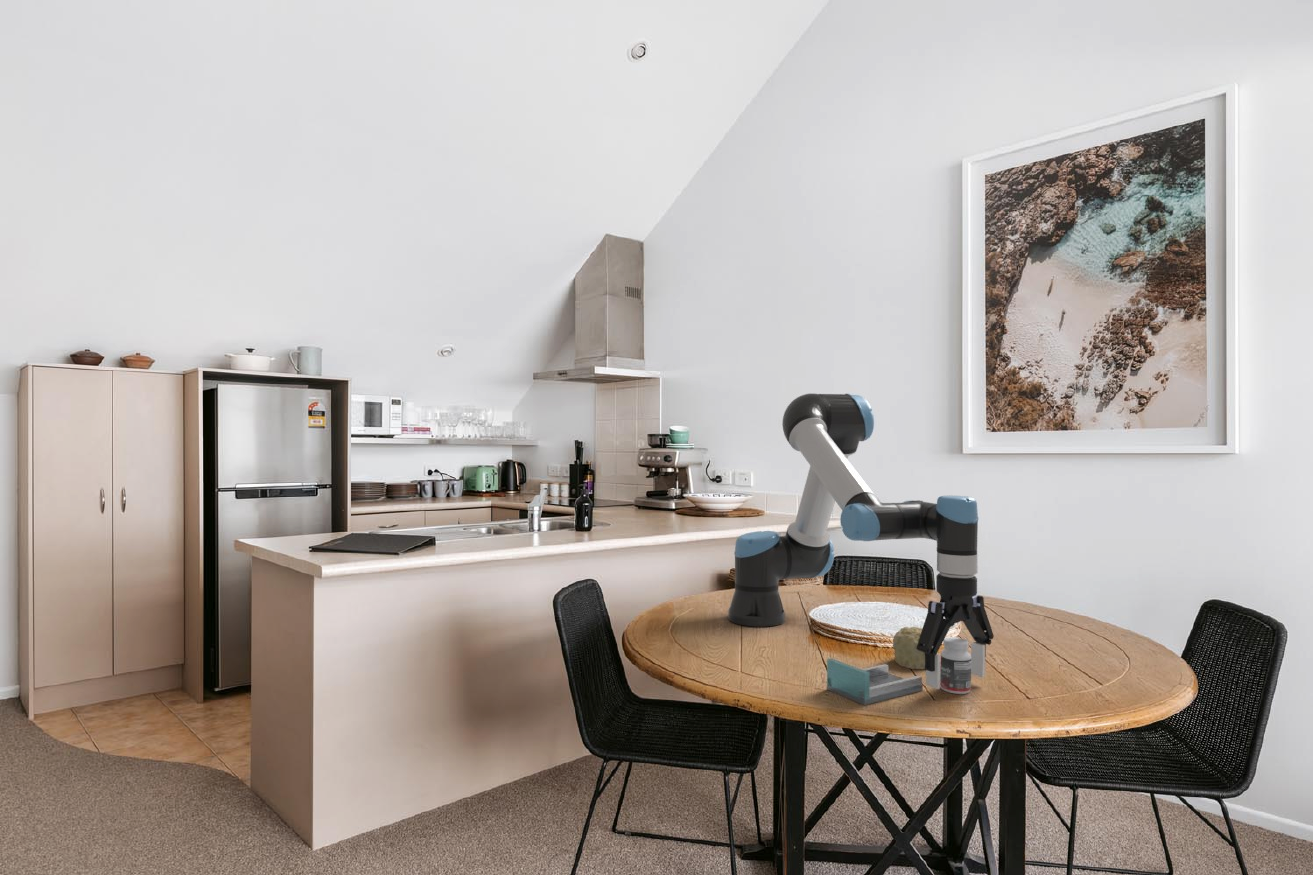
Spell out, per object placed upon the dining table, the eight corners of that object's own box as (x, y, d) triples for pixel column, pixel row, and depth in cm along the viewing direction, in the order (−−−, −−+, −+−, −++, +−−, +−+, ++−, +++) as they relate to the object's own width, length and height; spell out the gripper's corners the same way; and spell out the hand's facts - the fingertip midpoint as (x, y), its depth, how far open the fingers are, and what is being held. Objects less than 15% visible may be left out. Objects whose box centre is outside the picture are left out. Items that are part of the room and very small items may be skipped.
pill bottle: (935, 685, 155) (935, 636, 154) (962, 684, 155) (962, 635, 155) (948, 695, 149) (948, 644, 149) (976, 694, 149) (977, 643, 149)
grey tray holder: (883, 676, 160) (884, 647, 160) (922, 690, 151) (922, 660, 151) (826, 689, 152) (827, 659, 152) (864, 705, 143) (864, 673, 143)
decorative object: (939, 678, 169) (933, 634, 175) (940, 664, 161) (934, 619, 167) (895, 679, 172) (891, 635, 177) (894, 665, 164) (890, 620, 169)
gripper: (980, 565, 161) (979, 666, 161) (898, 577, 148) (897, 686, 149) (1012, 571, 155) (1012, 675, 155) (929, 583, 142) (929, 697, 142)
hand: (955, 681), depth 152 cm, fingers open, 13 cm apart
